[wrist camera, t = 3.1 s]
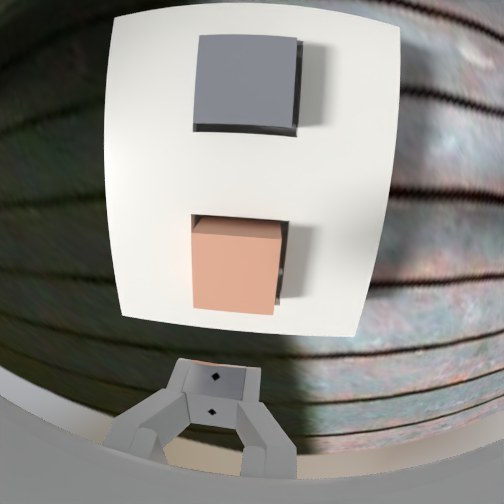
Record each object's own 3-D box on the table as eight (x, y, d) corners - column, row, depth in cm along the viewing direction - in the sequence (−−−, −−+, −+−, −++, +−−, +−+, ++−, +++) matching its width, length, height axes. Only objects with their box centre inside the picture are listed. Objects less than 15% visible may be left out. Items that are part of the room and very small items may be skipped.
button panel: (144, 284, 26) (122, 315, 21) (143, 35, 17) (114, 17, 13) (341, 301, 25) (354, 336, 21) (374, 45, 17) (399, 27, 12)
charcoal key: (208, 124, 18) (193, 123, 14) (213, 53, 16) (199, 35, 12) (287, 128, 17) (291, 127, 14) (291, 56, 15) (297, 37, 12)
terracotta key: (205, 278, 22) (193, 308, 18) (205, 213, 20) (190, 232, 16) (273, 284, 22) (273, 315, 18) (279, 218, 20) (281, 239, 16)
